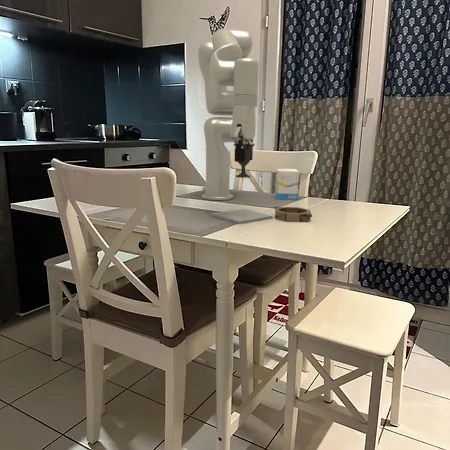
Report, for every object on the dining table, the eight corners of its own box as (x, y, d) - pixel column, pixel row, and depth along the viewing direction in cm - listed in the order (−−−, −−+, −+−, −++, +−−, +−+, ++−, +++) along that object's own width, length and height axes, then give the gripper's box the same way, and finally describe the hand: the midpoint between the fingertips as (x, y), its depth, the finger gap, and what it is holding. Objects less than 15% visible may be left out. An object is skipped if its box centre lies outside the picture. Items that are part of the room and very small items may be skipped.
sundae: (237, 178, 133) (238, 128, 130) (229, 175, 139) (230, 128, 136) (256, 177, 135) (258, 128, 132) (248, 175, 142) (250, 128, 138)
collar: (264, 215, 143) (264, 208, 143) (287, 212, 150) (288, 204, 149) (297, 224, 132) (297, 216, 131) (321, 220, 139) (322, 212, 138)
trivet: (211, 215, 142) (211, 213, 142) (244, 211, 150) (244, 208, 150) (239, 224, 131) (239, 221, 131) (272, 218, 140) (272, 216, 139)
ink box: (297, 200, 174) (299, 170, 171) (276, 199, 174) (278, 170, 171) (294, 196, 182) (296, 168, 179) (274, 196, 182) (276, 168, 179)
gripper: (243, 103, 141) (241, 158, 146) (223, 100, 126) (222, 162, 130) (265, 103, 139) (263, 159, 143) (247, 100, 123) (245, 163, 127)
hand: (243, 160), depth 136 cm, fingers closed on sundae, 6 cm apart
